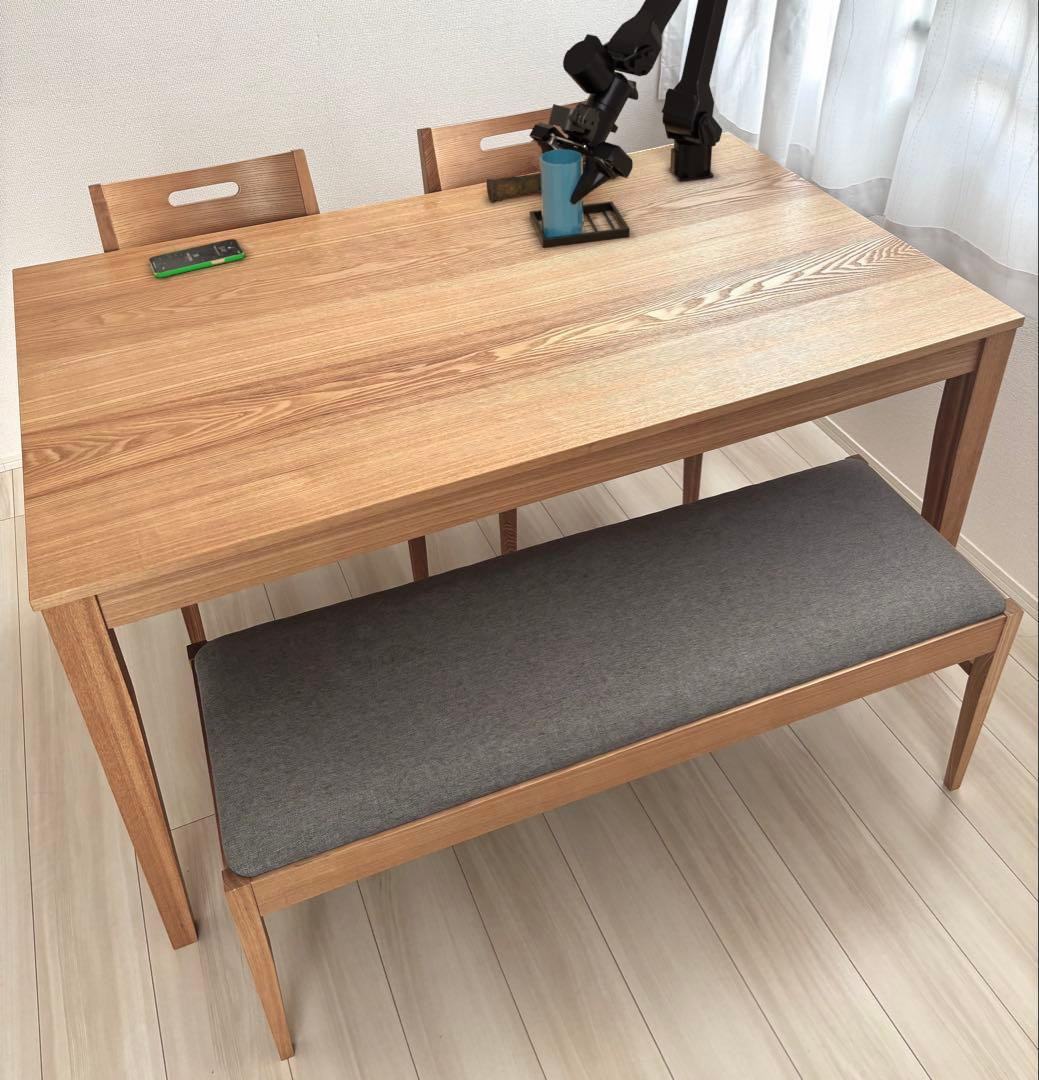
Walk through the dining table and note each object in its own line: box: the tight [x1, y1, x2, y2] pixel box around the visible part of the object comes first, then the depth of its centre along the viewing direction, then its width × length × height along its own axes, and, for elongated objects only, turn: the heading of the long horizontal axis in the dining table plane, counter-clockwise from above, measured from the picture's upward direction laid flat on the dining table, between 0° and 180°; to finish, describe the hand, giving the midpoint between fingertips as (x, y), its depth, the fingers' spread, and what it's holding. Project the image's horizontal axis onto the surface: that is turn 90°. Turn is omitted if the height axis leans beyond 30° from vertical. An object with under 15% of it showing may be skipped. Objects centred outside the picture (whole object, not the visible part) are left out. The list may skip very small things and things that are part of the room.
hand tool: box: [486, 163, 585, 203], centre depth 188 cm, size 19×4×5 cm, turn 101°
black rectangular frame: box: [529, 201, 630, 249], centre depth 177 cm, size 15×12×2 cm
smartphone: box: [148, 238, 246, 279], centre depth 175 cm, size 8×1×15 cm
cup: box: [538, 149, 585, 238], centre depth 172 cm, size 7×7×13 cm
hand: (555, 197), depth 171 cm, fingers closed on cup, 7 cm apart
